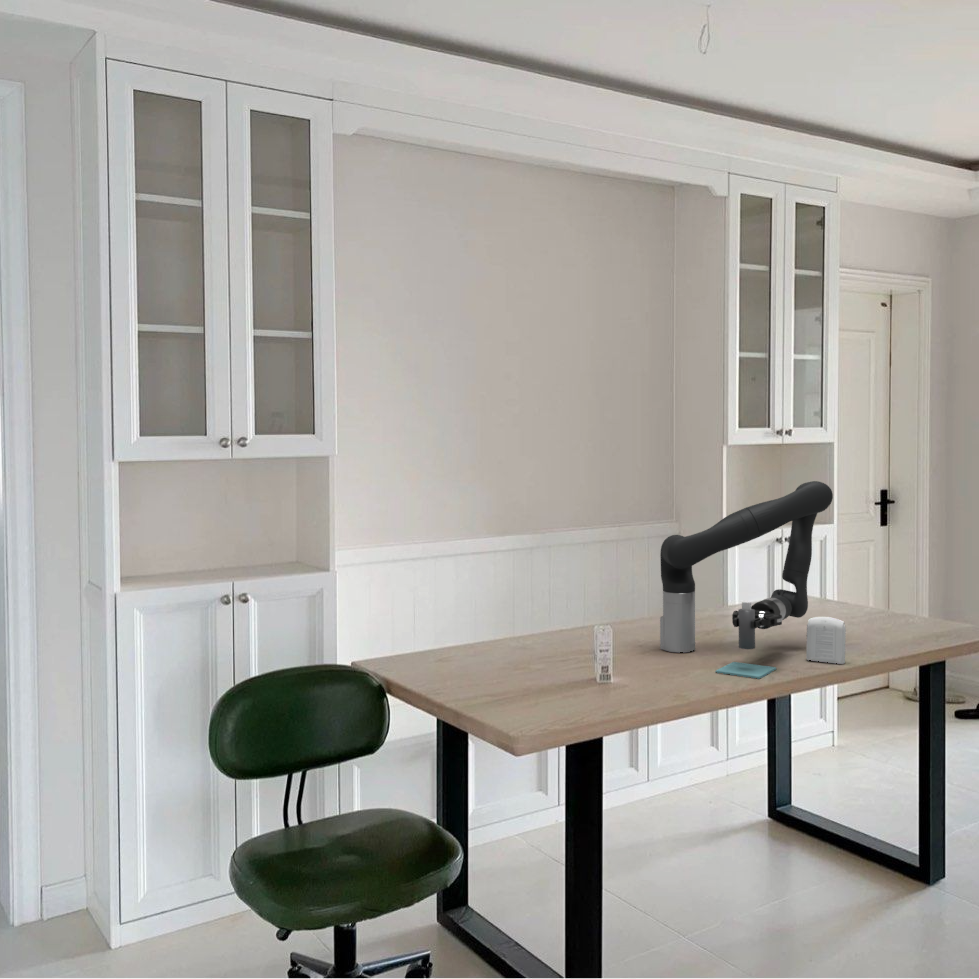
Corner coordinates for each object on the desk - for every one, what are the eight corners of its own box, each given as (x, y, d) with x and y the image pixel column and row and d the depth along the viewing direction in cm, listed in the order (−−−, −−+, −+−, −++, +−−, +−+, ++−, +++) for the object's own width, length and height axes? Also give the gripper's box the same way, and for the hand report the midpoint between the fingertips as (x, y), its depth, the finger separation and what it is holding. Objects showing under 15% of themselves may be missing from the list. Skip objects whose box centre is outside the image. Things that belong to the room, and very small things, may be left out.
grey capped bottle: (736, 648, 271) (735, 603, 270) (742, 644, 274) (741, 600, 273) (751, 649, 268) (751, 604, 268) (757, 646, 272) (757, 601, 271)
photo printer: (846, 661, 281) (847, 617, 280) (843, 665, 277) (844, 620, 276) (808, 658, 286) (808, 614, 285) (804, 661, 282) (805, 616, 281)
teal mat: (715, 672, 270) (715, 670, 270) (733, 663, 280) (733, 661, 280) (759, 679, 263) (759, 676, 263) (776, 669, 273) (776, 667, 273)
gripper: (743, 597, 287) (718, 607, 273) (793, 601, 279) (770, 612, 265) (743, 623, 288) (718, 635, 274) (793, 628, 279) (770, 641, 265)
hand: (744, 623), depth 269 cm, fingers closed on grey capped bottle, 4 cm apart
